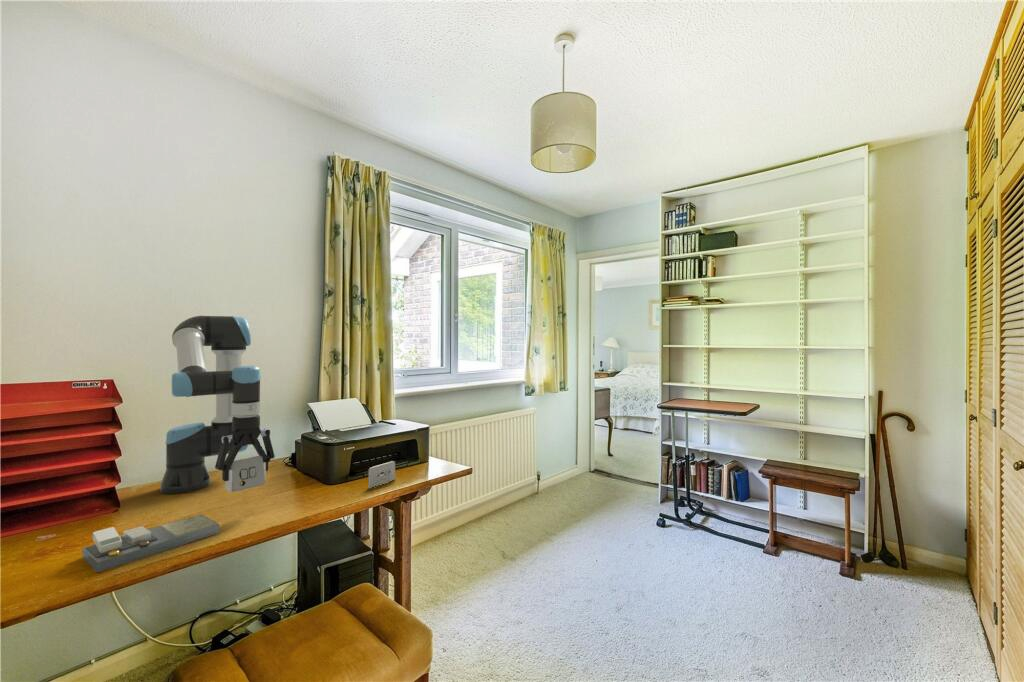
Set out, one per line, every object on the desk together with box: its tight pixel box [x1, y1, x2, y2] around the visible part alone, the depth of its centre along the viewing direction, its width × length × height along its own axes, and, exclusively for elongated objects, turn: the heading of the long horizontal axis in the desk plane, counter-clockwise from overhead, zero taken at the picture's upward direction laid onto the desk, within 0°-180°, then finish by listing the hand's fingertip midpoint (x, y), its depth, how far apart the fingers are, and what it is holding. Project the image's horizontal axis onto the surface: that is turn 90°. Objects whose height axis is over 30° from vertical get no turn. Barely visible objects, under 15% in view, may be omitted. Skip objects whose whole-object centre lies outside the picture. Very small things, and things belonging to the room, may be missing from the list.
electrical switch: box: [230, 455, 266, 493], centre depth 139 cm, size 9×5×9 cm, turn 141°
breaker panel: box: [81, 513, 220, 574], centre depth 119 cm, size 13×26×4 cm, turn 146°
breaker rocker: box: [92, 526, 122, 553], centre depth 111 cm, size 7×4×2 cm, turn 56°
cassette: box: [368, 460, 396, 489], centre depth 168 cm, size 12×2×8 cm, turn 145°
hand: (246, 486), depth 139 cm, fingers closed on electrical switch, 9 cm apart
